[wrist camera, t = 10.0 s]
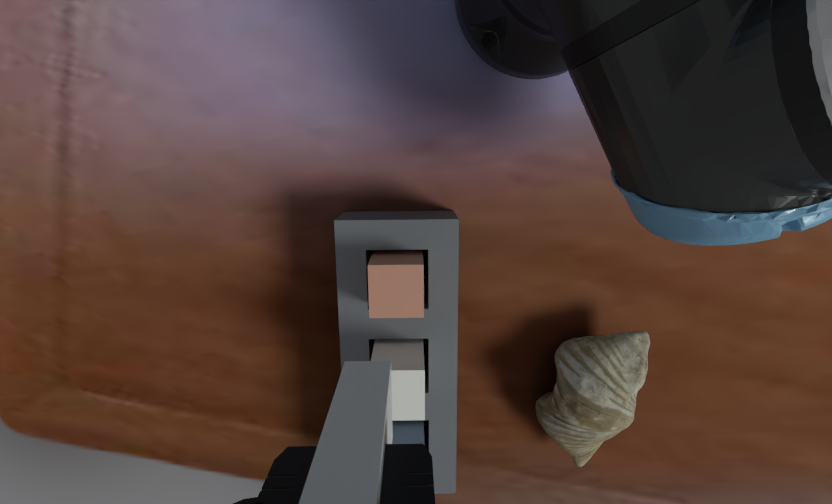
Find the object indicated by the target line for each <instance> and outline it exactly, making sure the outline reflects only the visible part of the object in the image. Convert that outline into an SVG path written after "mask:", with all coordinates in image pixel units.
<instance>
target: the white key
mask: <svg viewBox="0 0 832 504" xmlns="http://www.w3.org/2000/svg"><path fill="white" fill-rule="evenodd" d="M371 361H391V379H392V421H407V420H425V366H424V347H423V339H375V342H374V347H373V352H372V357H371Z"/></svg>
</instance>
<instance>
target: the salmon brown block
mask: <svg viewBox="0 0 832 504" xmlns="http://www.w3.org/2000/svg"><path fill="white" fill-rule="evenodd" d="M368 293H369V318H424V262H423V252H422V250H373V253H372V255H371V258H370V260H369V263H368Z"/></svg>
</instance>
